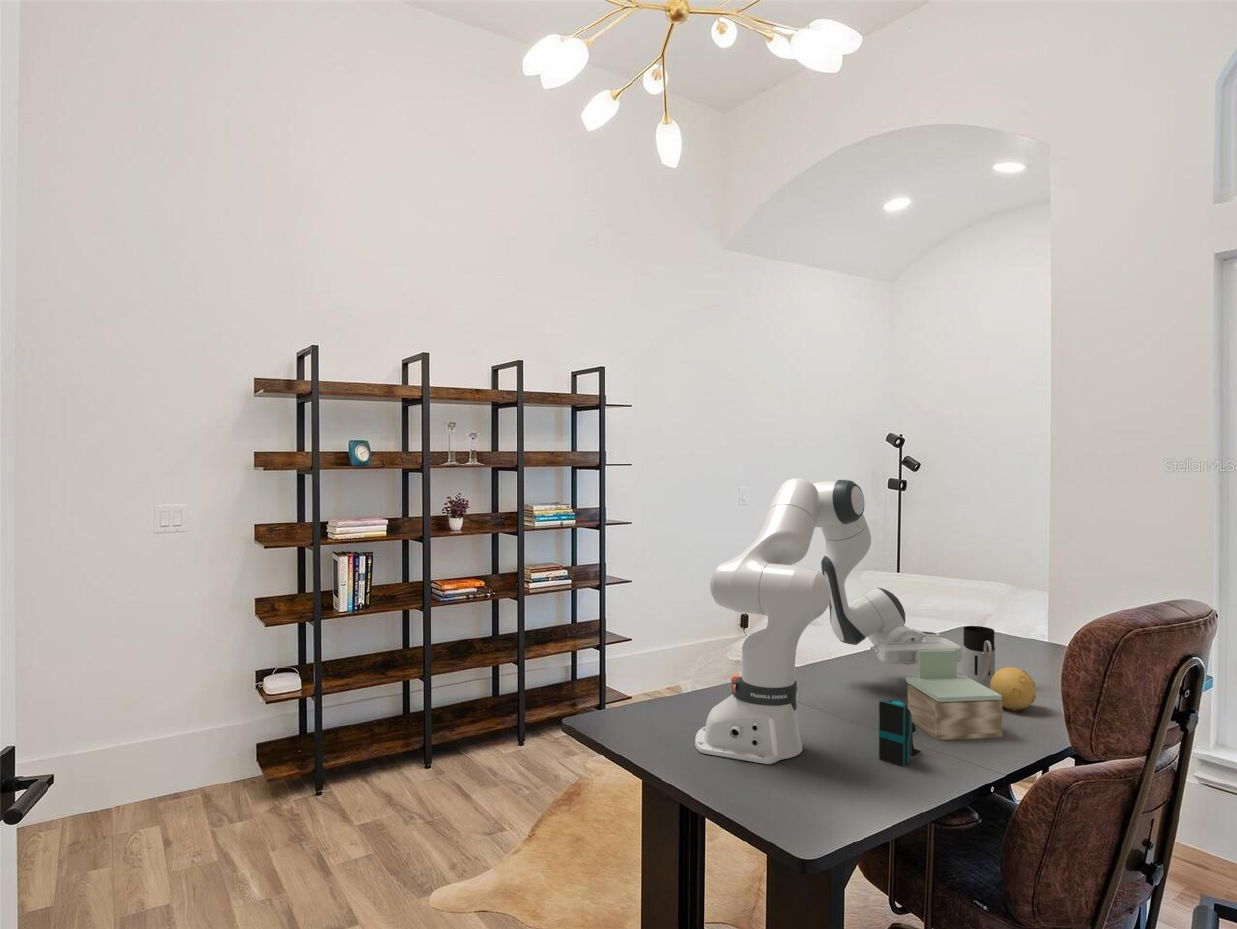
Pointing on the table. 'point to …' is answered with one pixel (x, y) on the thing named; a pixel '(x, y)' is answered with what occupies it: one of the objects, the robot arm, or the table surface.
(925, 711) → the wooden box
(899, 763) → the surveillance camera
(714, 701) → the table surface
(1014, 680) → the stress ball
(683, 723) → the table surface
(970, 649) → the glass holder
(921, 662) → the lid
